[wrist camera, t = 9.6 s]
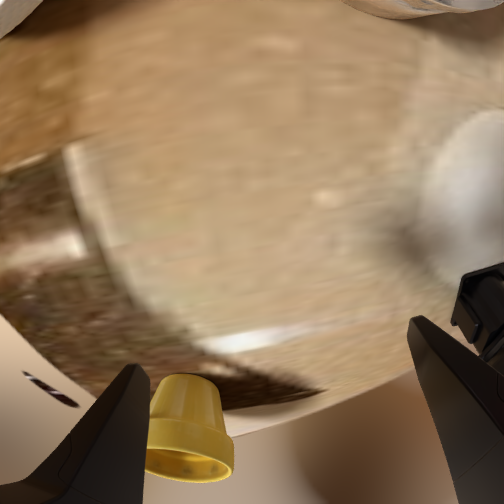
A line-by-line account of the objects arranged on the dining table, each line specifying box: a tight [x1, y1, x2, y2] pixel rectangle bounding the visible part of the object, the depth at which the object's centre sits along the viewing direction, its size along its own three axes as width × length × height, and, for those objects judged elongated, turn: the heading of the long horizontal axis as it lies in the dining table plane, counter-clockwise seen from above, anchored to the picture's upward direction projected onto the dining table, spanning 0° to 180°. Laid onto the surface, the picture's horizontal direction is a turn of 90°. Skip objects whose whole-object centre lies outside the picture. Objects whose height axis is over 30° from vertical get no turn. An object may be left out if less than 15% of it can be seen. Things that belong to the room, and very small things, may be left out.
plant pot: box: [145, 374, 234, 483], centre depth 28 cm, size 10×10×10 cm
